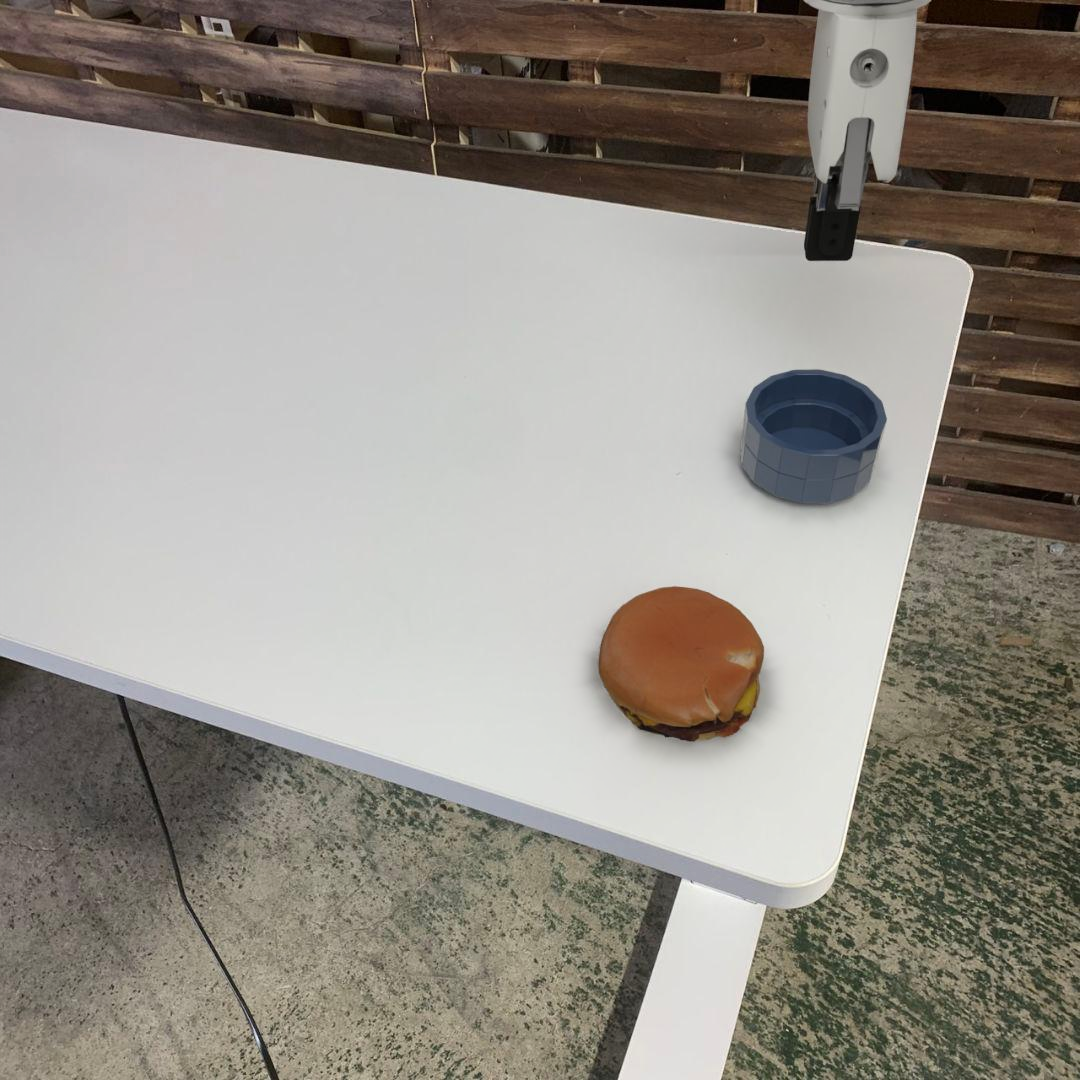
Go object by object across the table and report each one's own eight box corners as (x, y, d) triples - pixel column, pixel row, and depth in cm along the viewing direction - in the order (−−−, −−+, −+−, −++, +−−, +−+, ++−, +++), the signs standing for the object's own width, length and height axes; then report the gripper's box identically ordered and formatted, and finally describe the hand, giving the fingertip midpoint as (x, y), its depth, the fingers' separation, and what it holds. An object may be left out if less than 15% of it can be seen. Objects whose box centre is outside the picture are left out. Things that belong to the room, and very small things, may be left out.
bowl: (860, 423, 72) (873, 368, 69) (882, 510, 66) (897, 455, 62) (735, 423, 73) (741, 369, 70) (745, 509, 67) (752, 455, 63)
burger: (602, 615, 61) (602, 566, 58) (753, 620, 60) (761, 570, 57) (595, 753, 55) (594, 706, 51) (764, 761, 54) (774, 714, 50)
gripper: (962, 8, 51) (896, 313, 64) (918, -73, 61) (869, 204, 74) (814, 13, 52) (778, 313, 65) (795, -67, 62) (768, 206, 75)
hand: (827, 254), depth 69 cm, fingers closed
